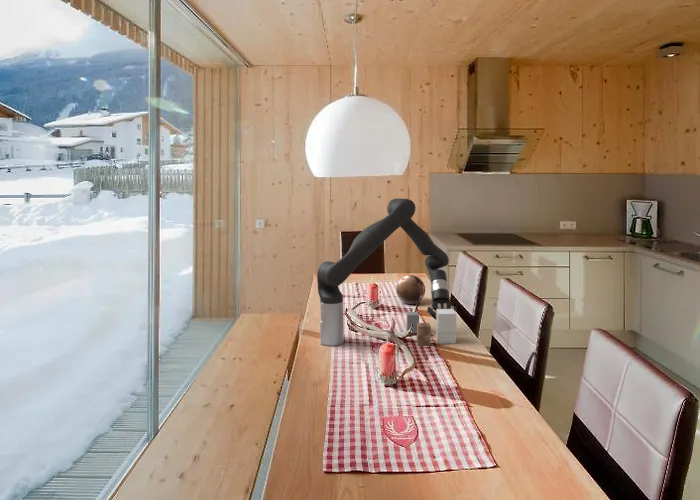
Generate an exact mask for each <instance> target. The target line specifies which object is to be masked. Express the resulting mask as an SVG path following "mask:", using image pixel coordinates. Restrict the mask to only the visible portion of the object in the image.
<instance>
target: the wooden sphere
mask: <svg viewBox="0 0 700 500" xmlns="http://www.w3.org/2000/svg"><path fill="white" fill-rule="evenodd" d="M395 289H396V291H395V292H396V295H397V298H398V299H399V300H400V301H401V302H403V303H404V304H407V305H415V304H418V303H419V302H420V301H422V299H423V298H424V297H425V295H426V294H425V293H426V286H425V283H424V281H423V280H422V279H421V278H419V277H418V276H416V275H411V274H410V275H406V276H403V277H401V278H400V279H399V280H398V282H397V284H396V287H395Z"/></svg>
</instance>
